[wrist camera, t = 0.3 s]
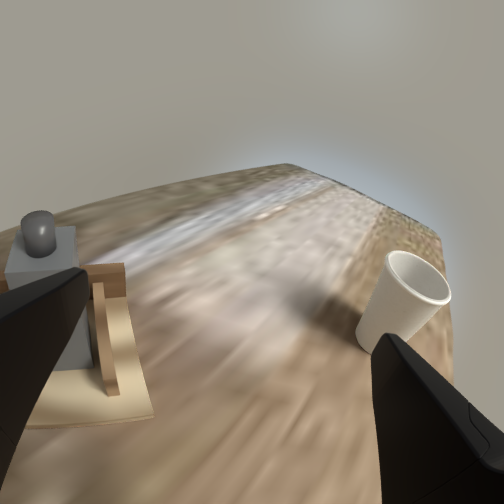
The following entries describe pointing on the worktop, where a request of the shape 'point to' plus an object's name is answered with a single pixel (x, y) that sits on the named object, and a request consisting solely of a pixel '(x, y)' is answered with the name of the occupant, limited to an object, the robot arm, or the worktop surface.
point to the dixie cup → (402, 299)
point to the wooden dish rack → (98, 364)
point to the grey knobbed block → (45, 264)
